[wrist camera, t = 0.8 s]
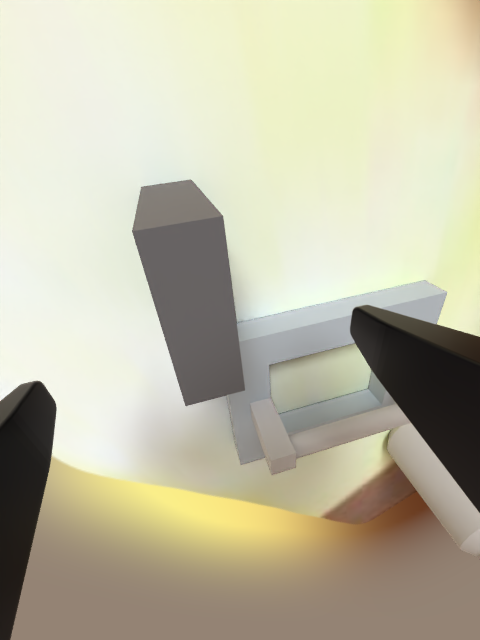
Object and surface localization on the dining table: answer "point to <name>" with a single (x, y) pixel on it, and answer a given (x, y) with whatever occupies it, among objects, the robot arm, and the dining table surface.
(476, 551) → the can
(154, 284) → the tall grey upright block
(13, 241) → the dining table surface
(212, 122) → the dining table surface
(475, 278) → the dining table surface
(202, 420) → the dining table surface
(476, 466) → the robot arm
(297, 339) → the square frame
